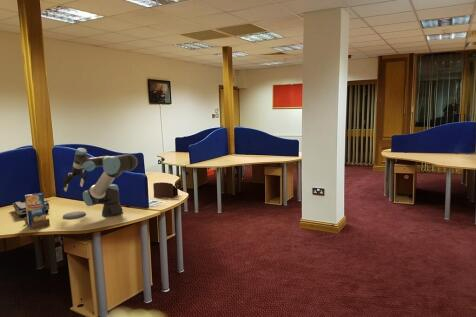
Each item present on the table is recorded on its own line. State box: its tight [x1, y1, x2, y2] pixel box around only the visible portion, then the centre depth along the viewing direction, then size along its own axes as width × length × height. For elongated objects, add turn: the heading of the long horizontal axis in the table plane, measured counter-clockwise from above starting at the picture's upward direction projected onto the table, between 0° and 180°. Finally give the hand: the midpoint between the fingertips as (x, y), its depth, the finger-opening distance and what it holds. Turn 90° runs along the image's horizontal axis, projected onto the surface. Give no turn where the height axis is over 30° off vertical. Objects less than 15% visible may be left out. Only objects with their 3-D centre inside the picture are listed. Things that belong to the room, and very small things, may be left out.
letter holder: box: [152, 181, 179, 199], centre depth 322 cm, size 10×20×14 cm, turn 74°
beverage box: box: [24, 192, 47, 229], centre depth 250 cm, size 7×11×22 cm, turn 128°
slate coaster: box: [62, 210, 87, 220], centre depth 270 cm, size 16×16×1 cm
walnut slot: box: [23, 217, 51, 230], centre depth 251 cm, size 18×11×5 cm, turn 45°
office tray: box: [12, 200, 50, 219], centre depth 285 cm, size 21×32×8 cm, turn 39°
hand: (73, 188), depth 278 cm, fingers open, 13 cm apart
